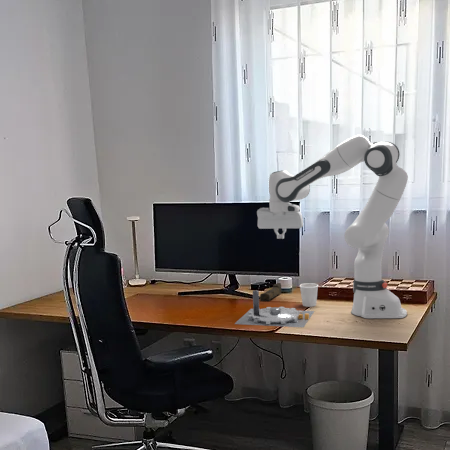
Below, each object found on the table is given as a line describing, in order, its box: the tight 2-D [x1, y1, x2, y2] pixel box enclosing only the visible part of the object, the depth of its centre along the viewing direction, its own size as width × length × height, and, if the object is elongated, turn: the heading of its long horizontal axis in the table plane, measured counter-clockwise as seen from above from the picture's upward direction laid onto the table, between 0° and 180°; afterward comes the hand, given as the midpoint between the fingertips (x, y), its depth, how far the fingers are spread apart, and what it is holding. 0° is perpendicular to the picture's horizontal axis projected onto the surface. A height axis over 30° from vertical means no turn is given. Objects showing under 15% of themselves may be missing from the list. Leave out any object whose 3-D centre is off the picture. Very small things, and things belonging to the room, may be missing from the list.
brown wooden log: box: [259, 282, 282, 303], centre depth 281 cm, size 23×5×6 cm, turn 153°
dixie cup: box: [299, 282, 319, 308], centre depth 258 cm, size 8×8×10 cm
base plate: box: [234, 308, 315, 328], centre depth 240 cm, size 28×25×3 cm
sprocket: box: [248, 289, 304, 324], centre depth 239 cm, size 23×23×12 cm
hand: (280, 238), depth 259 cm, fingers closed
